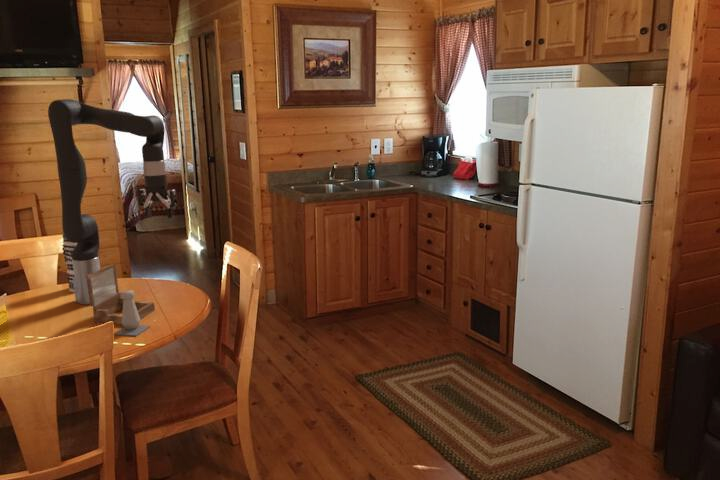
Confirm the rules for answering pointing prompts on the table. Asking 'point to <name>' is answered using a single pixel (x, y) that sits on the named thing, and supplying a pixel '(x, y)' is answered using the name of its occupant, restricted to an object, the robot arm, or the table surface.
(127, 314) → the salt shaker
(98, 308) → the frame
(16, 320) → the table surface
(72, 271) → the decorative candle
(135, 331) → the plate
